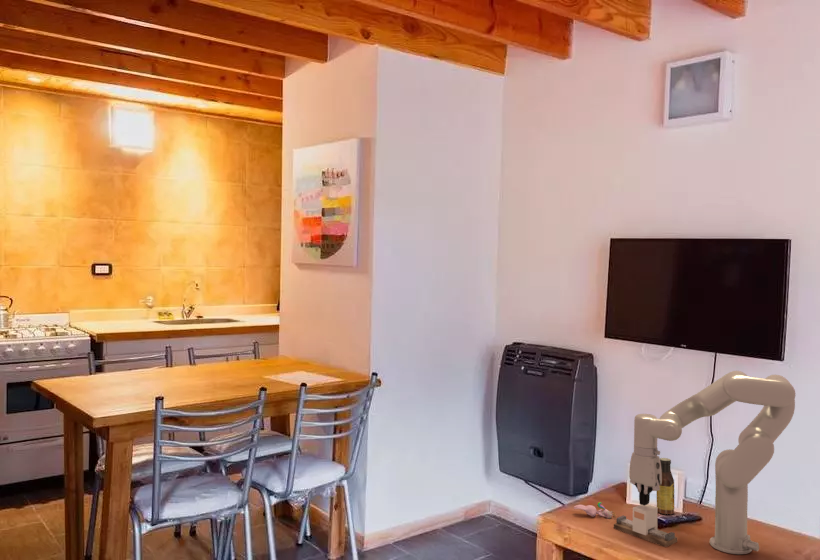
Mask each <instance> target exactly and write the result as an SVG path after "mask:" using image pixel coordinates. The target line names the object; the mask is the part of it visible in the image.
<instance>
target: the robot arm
mask: <svg viewBox="0 0 820 560" xmlns="http://www.w3.org/2000/svg"><path fill="white" fill-rule="evenodd" d="M795 399H796V389H795V388H794V385H792V383H791V382H790V381H789V380H788V379H787V378H786V377H784V376H782V375H779V374H771V375H768V376H767V377H765V378H762V377H761V378H760V377H756V376H755V377H754V376H749V375H747V373H745V372H743V371H740V370H732V371H729V372H728V373H726V374H725V375H723V376H721V377H720V378H719V379H717V380H715V381H713V382H712V383H711V384H710V385H708V386H706V387H704V388H703V389H702V390H700V391H698V392H696V393H695V394H693V395H692V396H689V397H688V398H686V399H684V400H682V401H681V402H678V404H675V405H674V406H672V407H671V408H670V409H668V410H667V411H665V412H664V413H663V414H661V416H660V417H659V418H658V417H657V416H656V415H653V414H649V413H638V414H636V415H635V416H634V421H633V426H634V428H633V452H631V458H630V462H629V471H628V472H629V475H628V476H629V479H630V480H629V482H630V484H632V485H633V486H635V487H636V489H637V492H638V493H639V494H638V497H639V498H638V501H639V505H647V504H649V505H650V499H651V498H650V497H651V496H650V494H651V493H652V492H653V491H654V492H657V491H658V490H660V487H659V485H660V484H661V483H662V471H661V462H660V458H661V457H660V456H659V455H661V450H658V439H660V440H663V441H669V442H674V441H676V440H679V438H681V436H682V434H683V433H682V432H683V429H684V428H685V427H686V426H688V425H689V424H691V423H692V422H694V421H696V420H698V419H701V418H707V417H712V416H715V415H717V414H718V413H720V412H721V411H723V410H724V409H726V408H727V407H729V406H730V405H732V404H733V403H736V402H738V403H743V404H744V403H745V404H751V405H759V406H763V407H762V409H761V410H760V411H759V412H758V414H757V415H756V416H755V417H754V418H753V419H752V421H751V422H749V424H748V425H747V426H745V428H744V429H743V430H742V431H741V432H740V433H739V435H738V445H736V447H735V448H734V449H724V450H722V451H721V452H720V453H718V455H717V456H716V459H715V463H714V467H715V468H714V469H715V470H714V471H715V472H714V473H715V475H714V476H715V477H714V478H715V497H714V498H715V499H714V500H715V501H714V502H715V506H714V508H715V509H714V513H715V514H714V520H715V521H714V536H712V537H710V538H709V544H710V546H711V547H712V548H714V549H715V550H718V551H720V552H722V553H723V552H724V553H727V554H730V555H731V554H732V555H747V554H750V553H751V552H752V551H755V552H759V551H760V545H759V542H756V541H753V540H752V539H751V535H749V534H748V501H749V500H748V497H749V494H748V493H749V492H748V488H749V487H748V485H749V484H750V483H751V482H752V481H753V480H754V479H755V478H756V476H758V474H759V473H761V471H762V470H763V469H764V468H765V467H766V466H767V464H769V462H770V461H771V460H772V458H773V456H774V454H775V444H774V442H776V440H777V439H778V438H779V437H780V436H781V434H782V433H783V432H784V431H785V429H786V428H788V426H789V424H790V423H791V422H792V419H793V416H794V414H795V409H796V400H795Z"/></svg>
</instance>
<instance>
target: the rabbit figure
mask: <svg viewBox="0 0 820 560" xmlns="http://www.w3.org/2000/svg"><path fill="white" fill-rule="evenodd" d="M597 507H598V509H597V508H596V506H594V505H590V504H587V505H584V504H577V505H575V506H573V510H582V511H583V512H585V513H586V515H588V516H590V517H592V518H594V517H596V515H599V516H600V517H604V518H605V519H612V517H614V519H615V520H616V519H617V514H616V511H613V510H611V511H610V510H608V509H606V508H605V506H604V505H603V504H602V502H601V501H599V502H597ZM599 508H600V509H599Z"/></svg>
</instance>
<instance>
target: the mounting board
mask: <svg viewBox="0 0 820 560" xmlns="http://www.w3.org/2000/svg"><path fill="white" fill-rule="evenodd" d="M613 529H615V530H618V531H620V532H623V533H625V534H628V535H631V536H634V537H636V538H638V539H642V540H645V541H648V542H649V543H650V542H651V543H653V544H656V545H659V546H662V547H664V548H667V547H669V546H672V545H674V544H676V543H678V537H677V536H675V538H674V539H672V540H670V541H666V540H665V539H662V538H659V537H656V536H653V535H650V534H648V535H643V534H640V533H637V532H635V531H633V528H631V527H628V526H625V525H622V524H618V523H616V522H615V523H614V524H613Z"/></svg>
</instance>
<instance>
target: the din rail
mask: <svg viewBox="0 0 820 560" xmlns="http://www.w3.org/2000/svg"><path fill="white" fill-rule="evenodd" d="M615 520H616V522H615V523H618V524H622V525H625V526H628V527H631V528H633V520H631V519H628V518H627V516H626V515H621V516H618V517H616V519H615ZM648 534H650V535H653V536H656V537H659V538H662V539H665V540H666V541H670V540H672V539H674V538H675V537H676V533H675V532H673V531H670V532H666V531H663V530H661V529H658V528H657V529H655V528H651V529H649V530H648Z"/></svg>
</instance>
